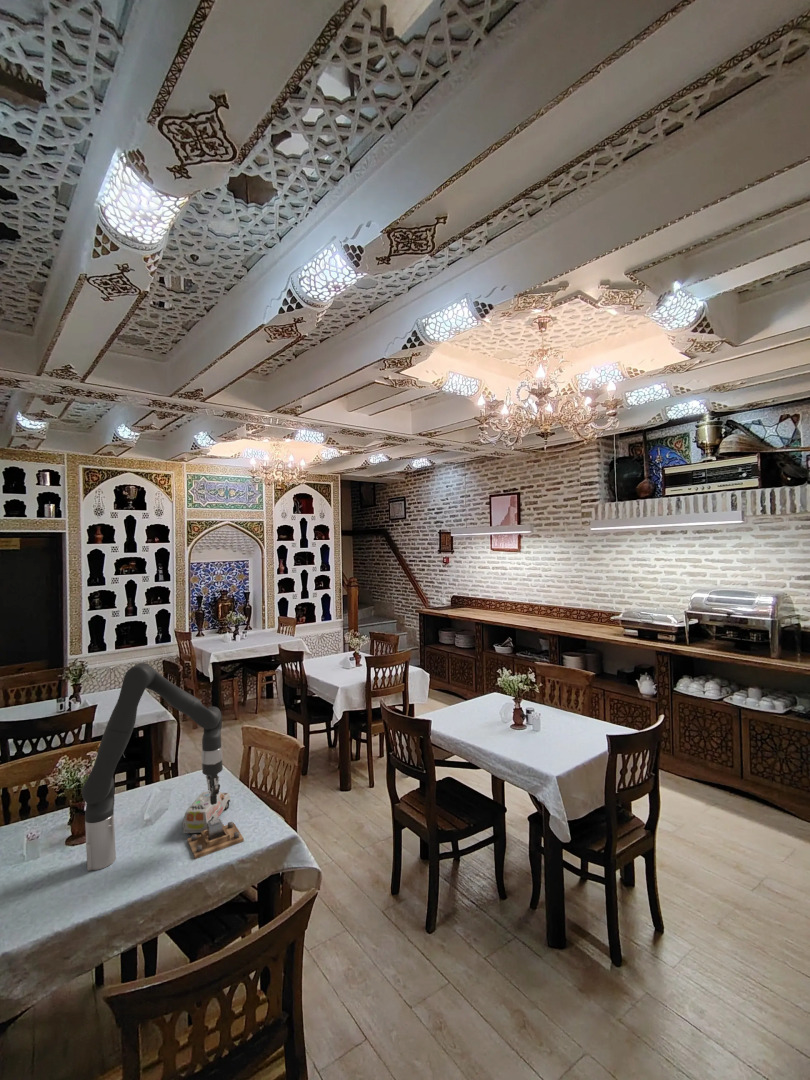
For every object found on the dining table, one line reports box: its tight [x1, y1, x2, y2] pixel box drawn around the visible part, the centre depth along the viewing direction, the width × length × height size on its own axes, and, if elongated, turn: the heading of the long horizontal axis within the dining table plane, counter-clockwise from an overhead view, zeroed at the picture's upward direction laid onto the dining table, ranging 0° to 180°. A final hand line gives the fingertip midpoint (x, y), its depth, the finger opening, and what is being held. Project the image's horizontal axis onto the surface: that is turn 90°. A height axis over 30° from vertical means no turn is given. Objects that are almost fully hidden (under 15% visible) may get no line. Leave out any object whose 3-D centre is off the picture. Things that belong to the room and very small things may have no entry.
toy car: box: [182, 790, 231, 834], centre depth 217 cm, size 11×25×10 cm, turn 177°
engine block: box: [207, 818, 224, 841], centre depth 201 cm, size 5×4×7 cm
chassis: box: [187, 821, 245, 860], centre depth 201 cm, size 18×14×3 cm
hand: (213, 803), depth 201 cm, fingers closed
